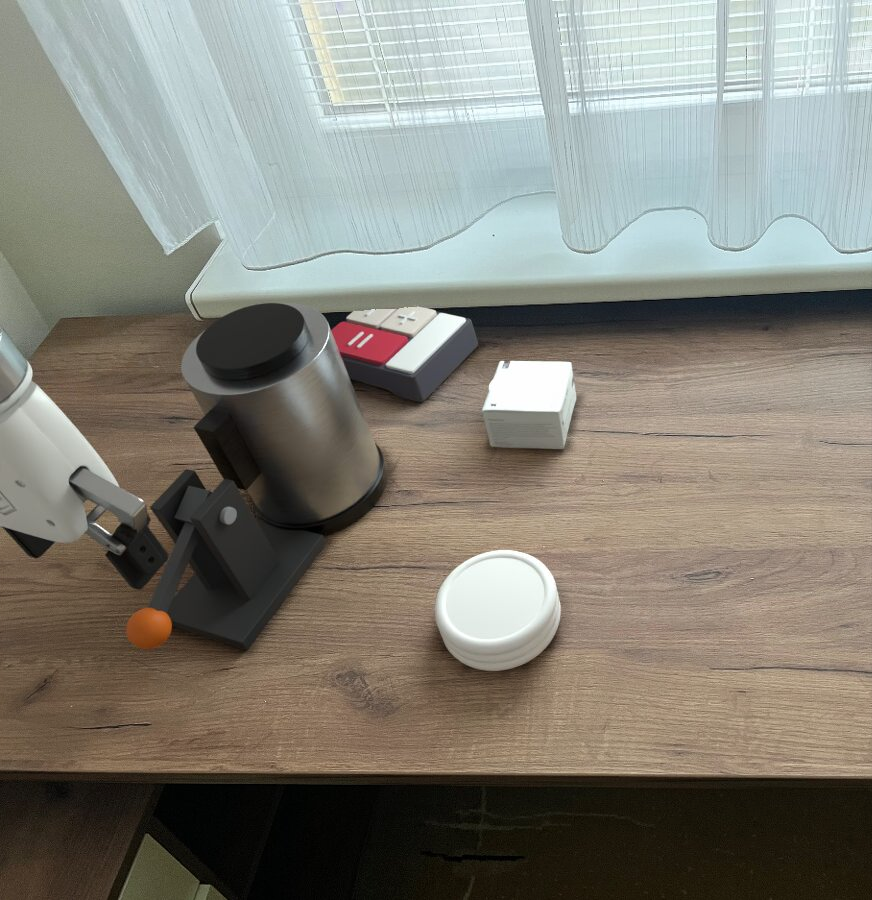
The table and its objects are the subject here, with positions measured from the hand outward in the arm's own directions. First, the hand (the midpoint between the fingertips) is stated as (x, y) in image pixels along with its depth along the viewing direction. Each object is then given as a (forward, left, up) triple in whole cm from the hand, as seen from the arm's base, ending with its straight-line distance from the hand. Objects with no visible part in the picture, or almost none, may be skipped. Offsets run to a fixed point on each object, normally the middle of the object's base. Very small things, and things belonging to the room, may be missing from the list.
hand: (99, 557), depth 63 cm
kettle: (+18, +11, -14) cm, 25 cm away
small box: (+38, +3, -14) cm, 41 cm away
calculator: (+33, +23, -14) cm, 43 cm away
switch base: (+7, +4, -14) cm, 16 cm away
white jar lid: (+22, -15, -14) cm, 30 cm away
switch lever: (+4, +2, -8) cm, 9 cm away
